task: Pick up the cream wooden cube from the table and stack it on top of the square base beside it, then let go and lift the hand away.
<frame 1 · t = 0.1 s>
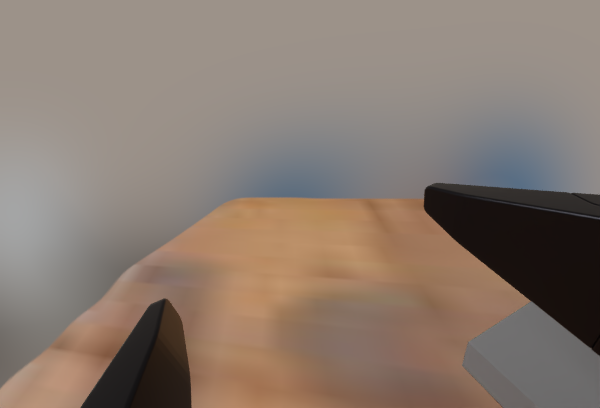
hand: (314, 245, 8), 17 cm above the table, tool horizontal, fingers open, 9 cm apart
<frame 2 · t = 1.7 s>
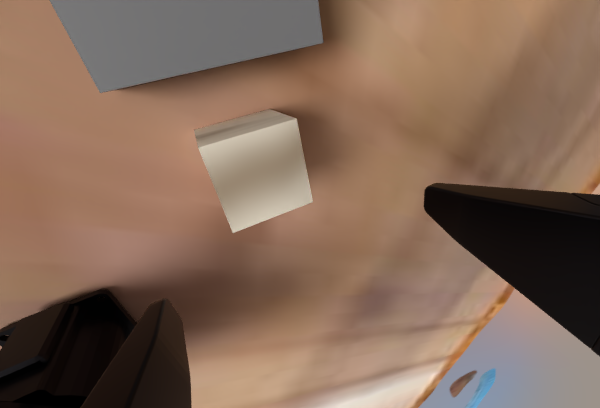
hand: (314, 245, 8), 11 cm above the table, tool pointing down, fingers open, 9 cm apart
cube: (244, 155, 18), on the table
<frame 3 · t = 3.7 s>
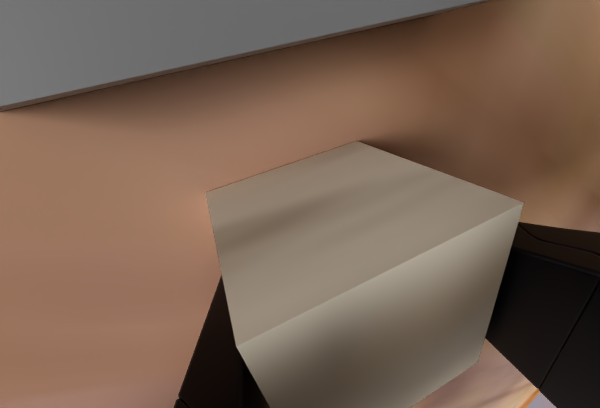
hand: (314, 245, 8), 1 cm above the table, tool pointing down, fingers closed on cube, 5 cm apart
cube: (302, 229, 9), on the table, touching gripper
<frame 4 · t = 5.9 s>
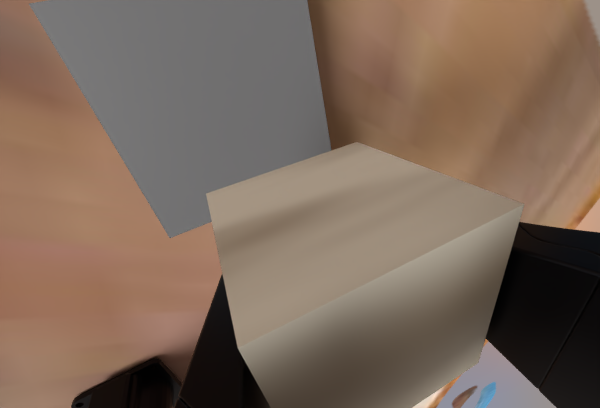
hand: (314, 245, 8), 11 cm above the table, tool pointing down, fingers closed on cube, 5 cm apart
cube: (302, 230, 9), point 10 cm above the table, touching gripper
base: (220, 108, 16), on the table
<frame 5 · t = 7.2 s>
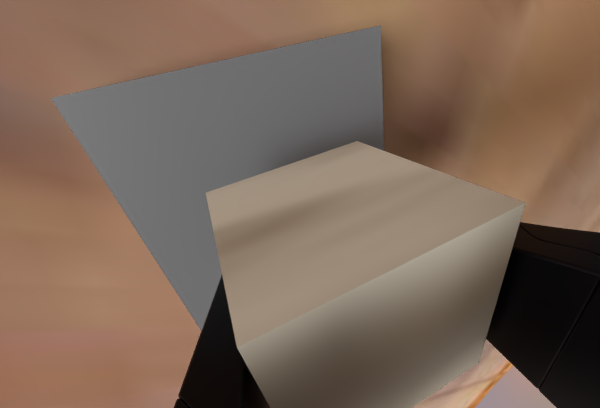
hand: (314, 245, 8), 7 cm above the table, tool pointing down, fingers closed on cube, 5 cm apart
cube: (302, 229, 9), point 6 cm above the table, touching gripper
base: (262, 176, 14), on the table
when the fingers open (5 cm above the table, at t = 8.3 s): cube drops 1 cm, resting on base.
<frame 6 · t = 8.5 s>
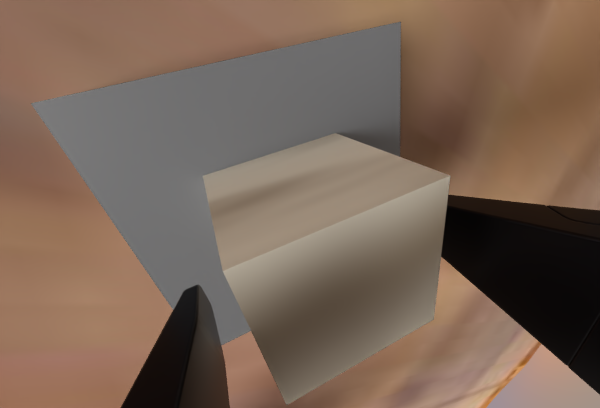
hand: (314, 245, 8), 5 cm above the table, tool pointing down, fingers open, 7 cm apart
cube: (288, 211, 10), point 3 cm above the table, touching base
base: (267, 184, 13), on the table
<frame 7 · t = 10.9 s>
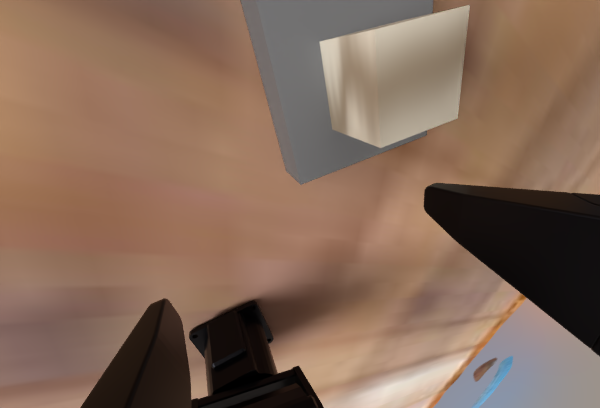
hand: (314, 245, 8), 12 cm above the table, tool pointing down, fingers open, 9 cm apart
cube: (361, 78, 16), point 3 cm above the table, touching base
base: (337, 77, 19), on the table
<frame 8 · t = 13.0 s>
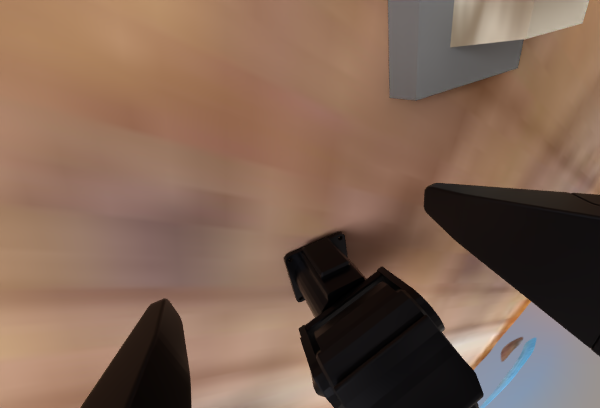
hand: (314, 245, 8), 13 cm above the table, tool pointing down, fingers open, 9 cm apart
base: (444, 8, 21), on the table
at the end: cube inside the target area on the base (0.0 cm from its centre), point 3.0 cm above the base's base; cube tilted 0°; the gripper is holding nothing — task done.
